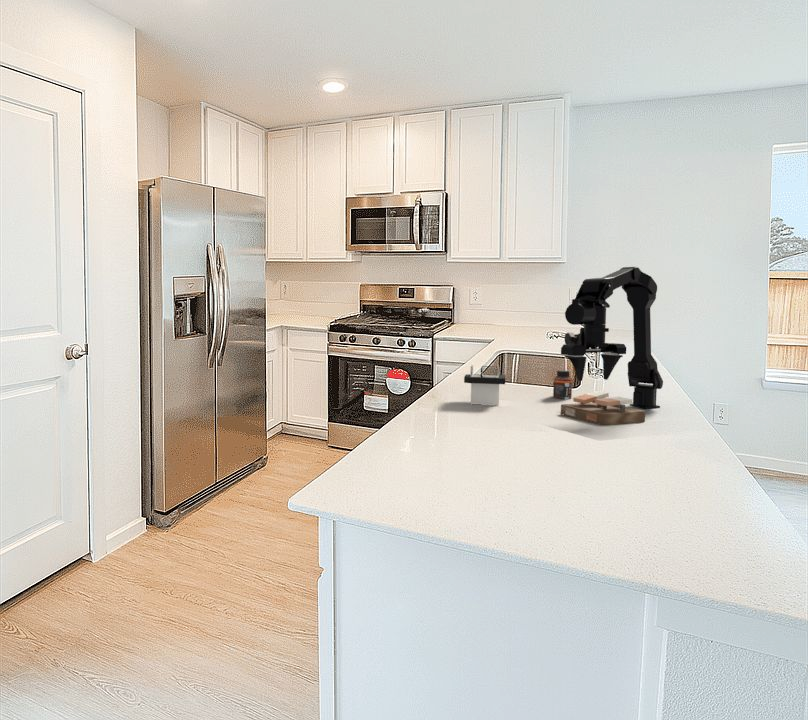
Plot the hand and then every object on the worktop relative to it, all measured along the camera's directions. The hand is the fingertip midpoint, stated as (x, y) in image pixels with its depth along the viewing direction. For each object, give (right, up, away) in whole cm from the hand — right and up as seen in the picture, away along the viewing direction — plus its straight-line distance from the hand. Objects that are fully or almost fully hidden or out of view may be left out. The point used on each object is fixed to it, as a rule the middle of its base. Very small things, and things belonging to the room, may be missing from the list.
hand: (592, 380), depth 164 cm
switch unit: (+5, -11, +7) cm, 14 cm away
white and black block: (-27, -10, +25) cm, 38 cm away
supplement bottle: (0, -9, +32) cm, 34 cm away
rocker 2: (+7, -7, +3) cm, 10 cm away
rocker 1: (+3, -6, +11) cm, 13 cm away
